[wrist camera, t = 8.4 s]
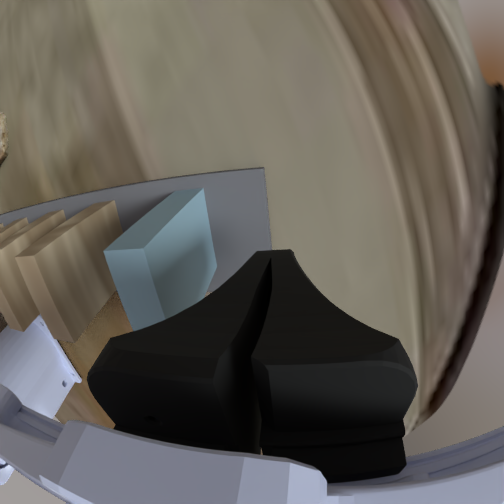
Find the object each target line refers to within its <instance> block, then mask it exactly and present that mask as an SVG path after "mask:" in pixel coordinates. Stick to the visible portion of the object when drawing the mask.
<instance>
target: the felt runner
mask: <svg viewBox="0 0 504 504" xmlns="http://www.w3.org/2000/svg"><path fill="white" fill-rule="evenodd" d="M198 188H203V189H204V195H205V201H206V207H207V213H208V219H209V224H210V230H211V236H212V241H213V247H214V252H215V258H216V263H217V268H216V270H215V273H214V275H213V277H212V280H211V282H210V284H209V287H208V289H207V291H206V292H213V291H215V290H216V289H217V288H219V287H220V286H221V285H222V284H223V283H224V282H226V281H227V280H228V279H229V278H230V277H231V276H232V275H234V274H235V273H236V272H237V271H238V270H239V269H240V268H241V267H242V266H243V265H244V264H245V263H246V262H247V260H248V259H249V258H250V257H251V256H252V255H253V254H254V253H255V252H256V251H266V250H272V245H271V234H270V223H269V212H268V202H267V191H266V181H265V171H264V167H260V168H248V169H238V170H228V171H218V172H209V173H201V174H193V175H185V176H178V177H171V178H164V179H157V180H151V181H145V182H139V183H133V184H127V185H122V186H116V187H111V188H106V189H101V190H96V191H91V192H86V193H82V194H77V195H73V196H68V197H64V198H60V199H56V200H51V201H47V202H43V203H40V204H36V205H32V206H28V207H25V208H21V209H17V210H14V211H10V212H7V213H4V214H0V224H1V223H3V226H4V227H5V226H7V225H8V224H10V223H12V222H13V221H15V220H17V219H21V218H25V217H27V220H28V223H29V224H30V223H32V222H33V221H35V220H37V219H38V218H40V217H42V216H43V215H45V214H47V213H48V212H53V211H57V210H62V209H63V210H64V214H65V217H66V221H67V220H68V219H70V218H72V217H73V216H75V215H76V214H78V213H79V212H81V211H83V210H84V209H86V208H88V207H89V206H91V205H92V204H94V203H100V202H105V201H111V200H115V204H116V208H117V212H118V216H119V220H120V224H121V227H122V231H123V233H124V232H125V231H127V230H128V229H129V228H130V227H131V226H132V225H134V224H135V223H136V222H137V221H138V220H140V219H141V218H142V217H143V216H144V215H146V214H147V213H148V212H149V211H151V210H152V209H153V208H154V207H155V206H157V205H158V204H159V203H160V202H162V201H163V200H164V199H166V198H167V197H168V196H169V195H171V194H172V193H173V192H175V191H181V190H189V189H198ZM116 291H117V290H116Z"/></svg>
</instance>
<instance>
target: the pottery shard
mask: <svg viewBox="0 0 504 504" xmlns="http://www.w3.org/2000/svg"><path fill="white" fill-rule="evenodd" d="M7 155H8V127H7V124H6V116H5V114H4V113H2V112H0V164H1V163H2V161H3V160H4V159H5V158H6V157H7Z"/></svg>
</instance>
